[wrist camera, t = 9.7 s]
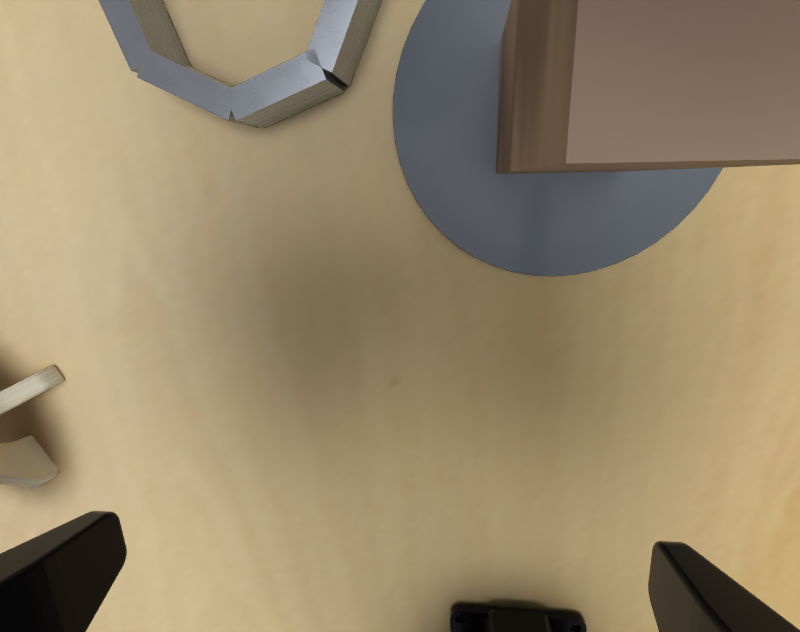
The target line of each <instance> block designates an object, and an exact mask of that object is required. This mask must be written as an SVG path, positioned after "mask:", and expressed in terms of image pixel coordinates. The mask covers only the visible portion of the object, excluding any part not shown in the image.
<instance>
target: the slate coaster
mask: <svg viewBox="0 0 800 632" xmlns="http://www.w3.org/2000/svg"><path fill="white" fill-rule="evenodd" d="M510 4H511V0H426V1H425V3H424V4H423V6H422V8H421V10H420V12H419V14H418V15H417V17H416V19H415V21H414V23H413V25H412V27H411V29H410V32H409V35H408V37H407V40H406V42H405V45H404V48H403V50H402V54H401V58H400V62H399V66H398V70H397V74H396V81H395V89H394V96H393V124H394V134H395V143H396V147H397V151H398V156H399V160H400V164H401V167H402V169H403V172H404V175H405V178H406V180H407V183H408V185H409V187H410V189H411V191H412V193H413V195H414V197H415V198H416V200H417V202H418V204H419V205H420V207H421V208H422V209H423V211H424V212H425V214H426V215H427V217H428V218H429V219H430V220H431V222H432V223H433V224H434V225H435V226H436V227H437V228H438V229H439V230H440V231H441V232H442V234H444V235H445V236H446V237H447V238H448V239H450V240H451V241H452V242H453V243H454V244H456V245H457V246H458V247H459V248H461V249H463V250H464V251H466V252H467V253H469V254H470V255H472V256H474V257H475V258H477V259H480V260H482V261H484V262H486V263H488V264H490V265H493V266H495V267H499V268H502V269H505V270H508V271H511V272H516V273H522V274H528V275H536V276H564V275H575V274H580V273H585V272H590V271H595V270H598V269H601V268H604V267H607V266H610V265H613V264H616V263H619V262H621V261H623V260H625V259H627V258H629V257H631V256H634V255H636V254H638V253H639V252H641V251H643V250H644V249H646V248H648V247H649V246H651V245H652V244H654V243H656V242H657V241H659V240H660V239H661V238H662V237H664V236H665V235H666V234H667V233H669V232H670V231H671V230H673V229H674V228H675V227H676V226H677V225H678V224H679V223H680V222H681V221H682V220H683V219H684V218H685V217H686V216H687V215H688V214H689V213H690V212H691V211H692V210H693V209H694V208H695V207H696V206H697V204H698V203H699V202H700V201H701V199H702V198H703V197H704V196H705V194H706V193H707V192H708V191H709V189H710V188H711V186H712V184H713V183H714V181H715V180H716V178H717V176H718V175H719V173H720V172H721V170H722V168H723V167H719V168H695V169H671V170H647V171H623V172H568V173H509V174H496V154H497V128H498V102H499V76H500V50H501V39H502V35H503V31H504V27H505V23H506V19H507V15H508V11H509V7H510Z"/></svg>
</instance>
